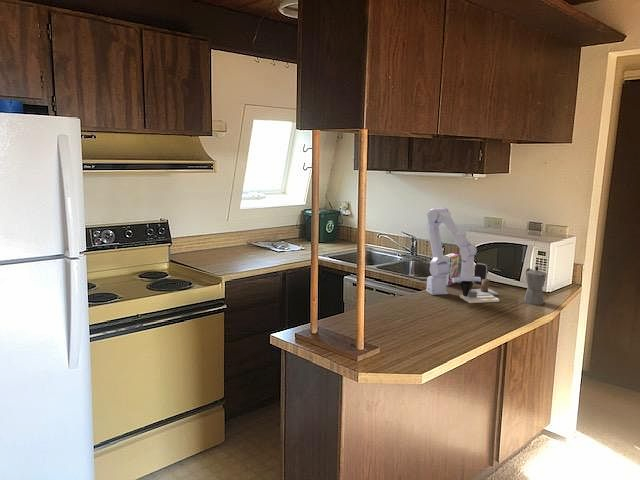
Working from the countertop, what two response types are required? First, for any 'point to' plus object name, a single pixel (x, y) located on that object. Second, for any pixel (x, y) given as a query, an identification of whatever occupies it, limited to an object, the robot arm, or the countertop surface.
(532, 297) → the coffeepot
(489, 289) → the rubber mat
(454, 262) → the candy bar box
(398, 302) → the countertop surface
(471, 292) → the switch tab
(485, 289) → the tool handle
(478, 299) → the switch panel
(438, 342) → the countertop surface
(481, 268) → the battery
